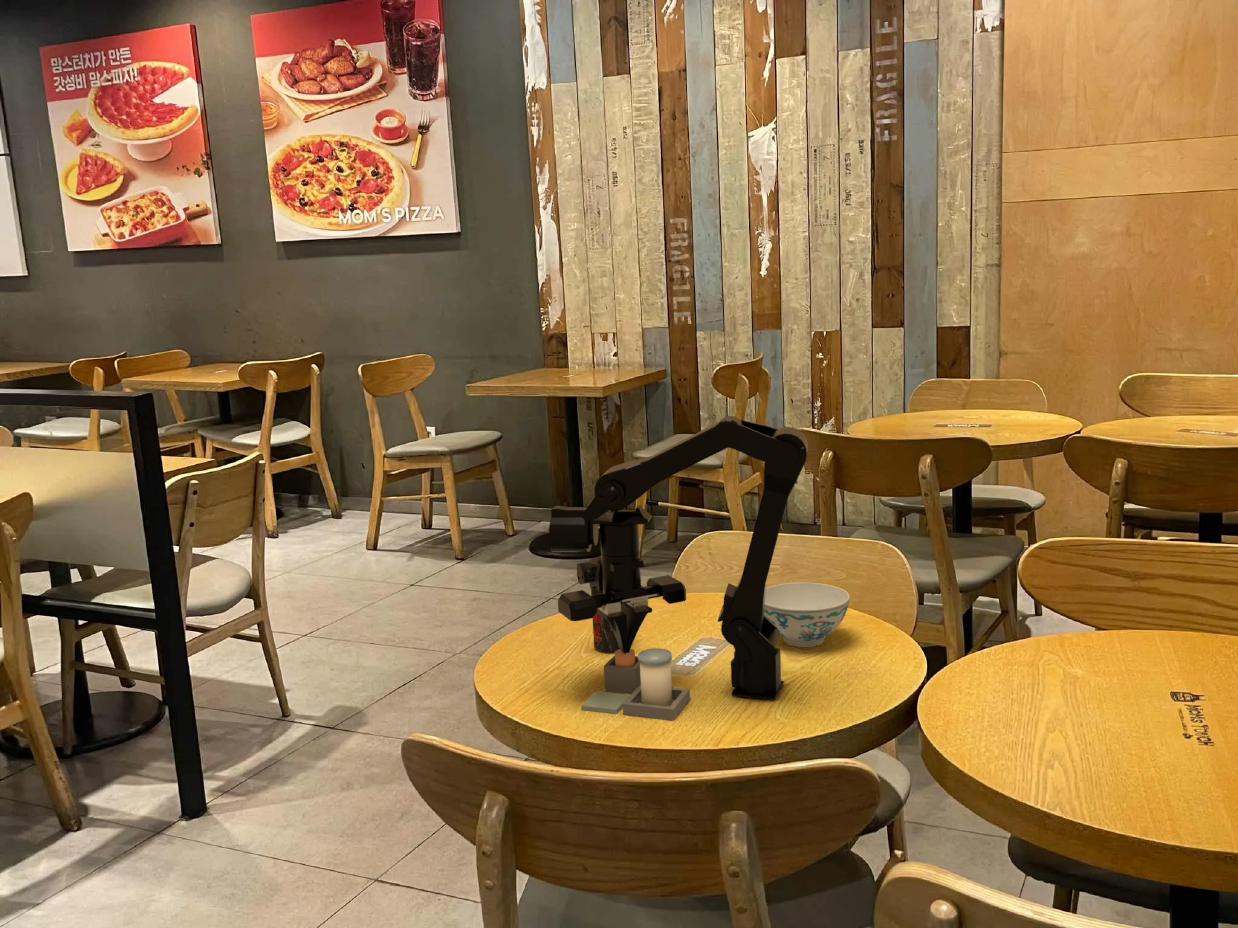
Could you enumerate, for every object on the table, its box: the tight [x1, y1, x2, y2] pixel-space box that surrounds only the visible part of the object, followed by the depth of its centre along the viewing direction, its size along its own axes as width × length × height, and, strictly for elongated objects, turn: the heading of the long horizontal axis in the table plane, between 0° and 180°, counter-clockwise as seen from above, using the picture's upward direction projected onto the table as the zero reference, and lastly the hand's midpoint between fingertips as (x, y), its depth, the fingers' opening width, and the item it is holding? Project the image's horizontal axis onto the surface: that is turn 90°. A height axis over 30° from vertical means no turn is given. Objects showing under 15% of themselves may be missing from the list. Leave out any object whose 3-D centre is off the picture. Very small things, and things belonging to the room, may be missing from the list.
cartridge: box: [637, 647, 673, 707], centre depth 157 cm, size 5×5×8 cm
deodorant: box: [589, 556, 622, 654], centre depth 182 cm, size 6×6×15 cm
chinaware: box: [764, 581, 851, 648], centre depth 182 cm, size 15×15×8 cm
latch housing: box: [603, 655, 641, 695], centre depth 166 cm, size 5×5×4 cm
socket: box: [622, 684, 691, 721], centre depth 158 cm, size 8×8×2 cm
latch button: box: [614, 648, 636, 667], centre depth 166 cm, size 3×3×4 cm
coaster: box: [580, 691, 631, 714], centre depth 160 cm, size 6×6×1 cm
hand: (625, 652), depth 165 cm, fingers closed, pressing on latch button
